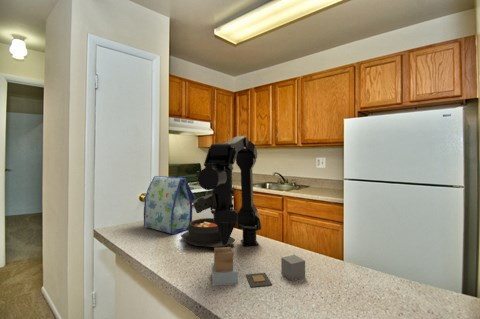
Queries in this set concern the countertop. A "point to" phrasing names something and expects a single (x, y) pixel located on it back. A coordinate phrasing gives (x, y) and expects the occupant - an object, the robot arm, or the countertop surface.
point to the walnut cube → (223, 259)
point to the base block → (224, 276)
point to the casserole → (204, 233)
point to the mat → (258, 280)
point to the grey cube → (293, 267)
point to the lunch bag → (168, 204)
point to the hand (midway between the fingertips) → (222, 239)
